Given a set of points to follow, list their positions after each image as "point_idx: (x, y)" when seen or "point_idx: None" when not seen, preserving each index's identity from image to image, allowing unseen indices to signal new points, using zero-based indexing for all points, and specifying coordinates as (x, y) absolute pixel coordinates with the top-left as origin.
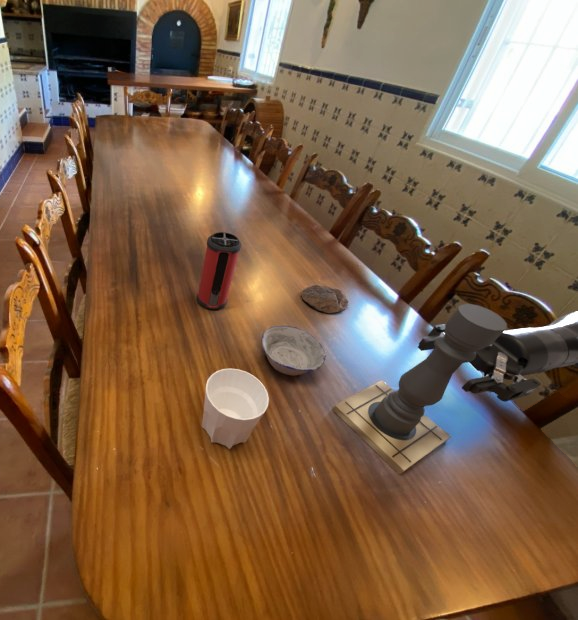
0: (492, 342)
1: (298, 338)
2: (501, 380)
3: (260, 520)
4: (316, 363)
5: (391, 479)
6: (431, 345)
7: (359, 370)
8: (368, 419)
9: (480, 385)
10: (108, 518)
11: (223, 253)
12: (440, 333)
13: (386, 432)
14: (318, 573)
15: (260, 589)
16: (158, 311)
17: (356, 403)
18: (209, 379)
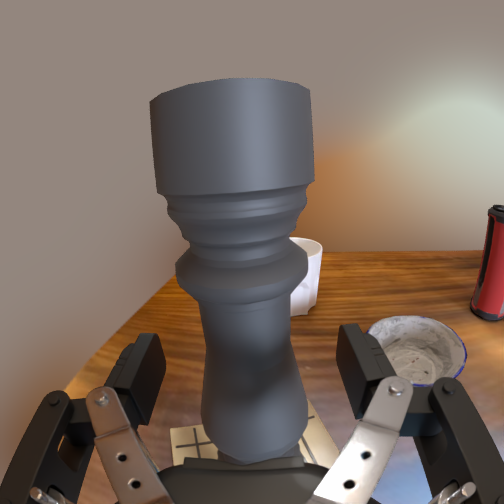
0: (156, 176)
1: (451, 370)
2: (91, 403)
3: (197, 307)
4: None
5: (173, 422)
6: (346, 366)
7: (410, 487)
8: None
9: (129, 352)
10: None
11: (491, 218)
12: (417, 399)
13: None
14: (147, 322)
15: (161, 297)
16: (440, 277)
17: (309, 432)
18: (306, 239)
